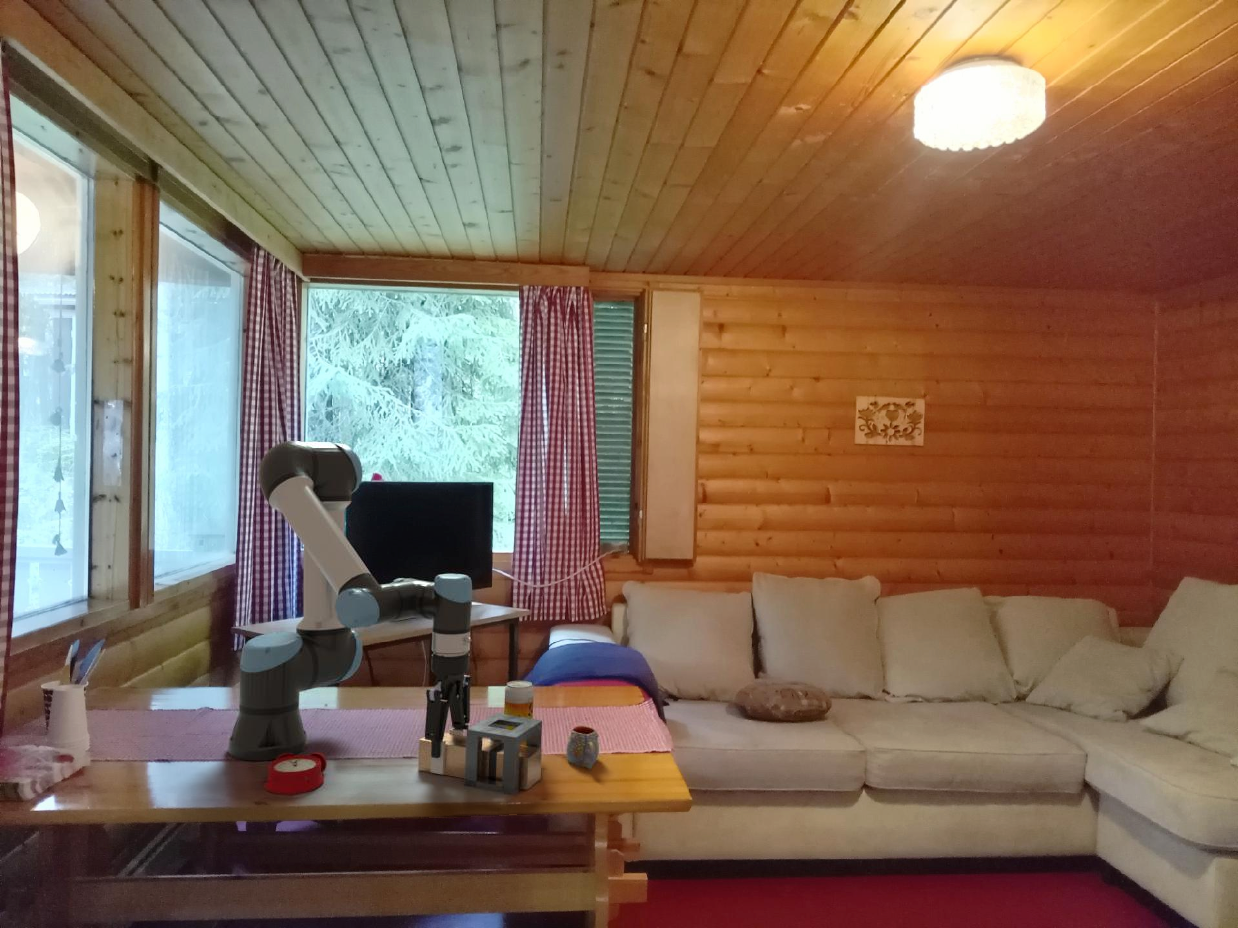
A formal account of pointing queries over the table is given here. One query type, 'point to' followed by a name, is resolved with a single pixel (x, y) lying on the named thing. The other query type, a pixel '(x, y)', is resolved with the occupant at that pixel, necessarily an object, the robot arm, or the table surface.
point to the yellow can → (519, 701)
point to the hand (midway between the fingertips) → (446, 766)
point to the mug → (583, 746)
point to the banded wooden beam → (483, 760)
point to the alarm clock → (296, 773)
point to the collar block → (512, 739)
